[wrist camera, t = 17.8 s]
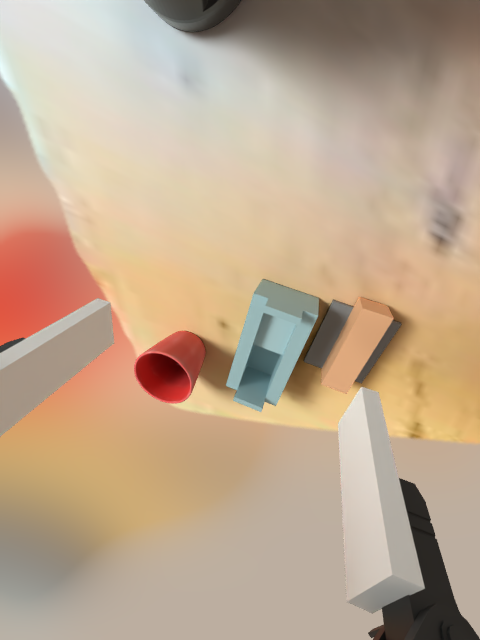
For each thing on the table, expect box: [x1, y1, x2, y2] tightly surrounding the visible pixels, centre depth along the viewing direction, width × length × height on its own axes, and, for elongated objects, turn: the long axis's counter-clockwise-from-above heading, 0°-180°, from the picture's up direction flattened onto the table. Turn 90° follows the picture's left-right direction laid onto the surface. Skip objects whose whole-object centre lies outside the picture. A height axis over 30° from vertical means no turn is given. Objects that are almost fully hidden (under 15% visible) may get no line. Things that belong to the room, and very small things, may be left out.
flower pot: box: [134, 331, 206, 403], centre depth 47 cm, size 11×11×10 cm
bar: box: [321, 297, 394, 394], centre depth 39 cm, size 14×4×4 cm, turn 167°
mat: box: [304, 300, 402, 383], centre depth 41 cm, size 12×10×1 cm
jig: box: [226, 279, 319, 412], centre depth 41 cm, size 18×9×9 cm, turn 166°
